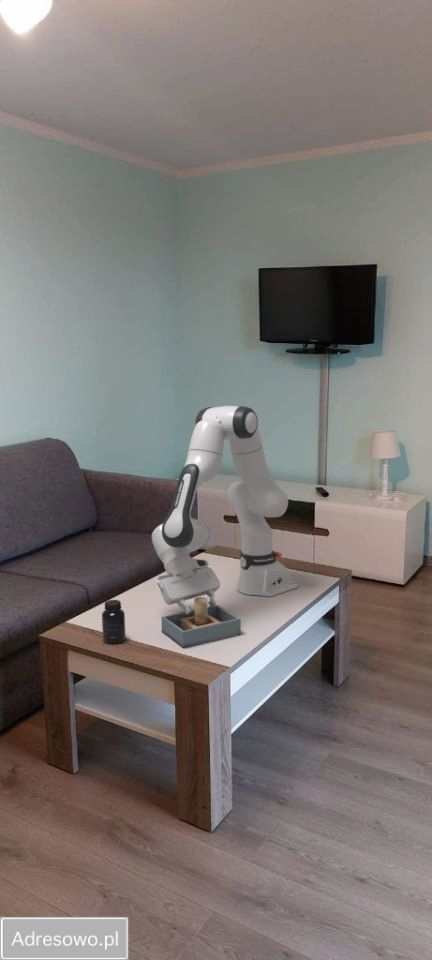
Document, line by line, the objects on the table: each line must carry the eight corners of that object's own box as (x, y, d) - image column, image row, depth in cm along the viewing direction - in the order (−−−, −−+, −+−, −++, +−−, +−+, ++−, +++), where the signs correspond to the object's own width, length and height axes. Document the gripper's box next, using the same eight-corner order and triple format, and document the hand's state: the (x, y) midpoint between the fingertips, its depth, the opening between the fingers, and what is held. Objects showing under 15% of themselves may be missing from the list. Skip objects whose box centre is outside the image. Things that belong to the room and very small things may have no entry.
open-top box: (217, 619, 234) (217, 604, 233) (240, 634, 222) (240, 619, 221) (161, 632, 224) (161, 616, 223) (182, 648, 213) (182, 632, 212)
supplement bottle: (105, 635, 222) (103, 598, 220) (127, 635, 222) (126, 598, 220) (100, 644, 215) (99, 606, 213) (123, 644, 215) (122, 606, 213)
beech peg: (203, 626, 226) (203, 596, 224) (210, 631, 222) (209, 600, 221) (192, 629, 224) (191, 598, 222) (198, 633, 221) (198, 602, 219)
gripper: (158, 572, 218) (179, 612, 213) (210, 559, 231) (231, 596, 226) (150, 583, 223) (170, 622, 217) (202, 569, 236) (221, 606, 230)
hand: (201, 608), depth 222 cm, fingers open, 8 cm apart
